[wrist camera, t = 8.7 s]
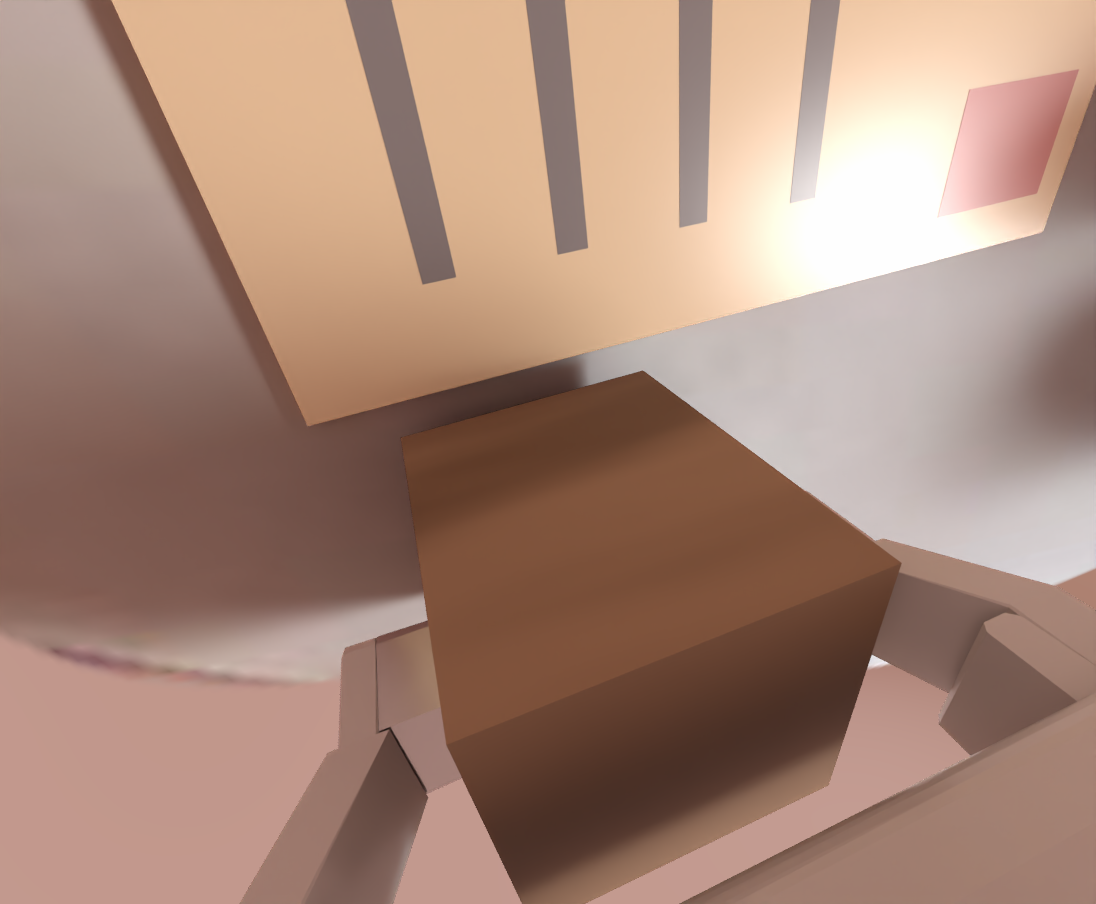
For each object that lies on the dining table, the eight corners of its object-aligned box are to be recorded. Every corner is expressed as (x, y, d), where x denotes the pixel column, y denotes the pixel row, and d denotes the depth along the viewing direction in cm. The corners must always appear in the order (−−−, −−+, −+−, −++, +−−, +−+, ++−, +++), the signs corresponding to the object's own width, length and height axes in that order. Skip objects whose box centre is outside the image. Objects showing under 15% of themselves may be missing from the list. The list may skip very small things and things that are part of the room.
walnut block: (400, 437, 9) (446, 744, 4) (642, 370, 10) (901, 562, 5) (462, 614, 12) (534, 928, 7) (651, 548, 13) (828, 785, 8)
